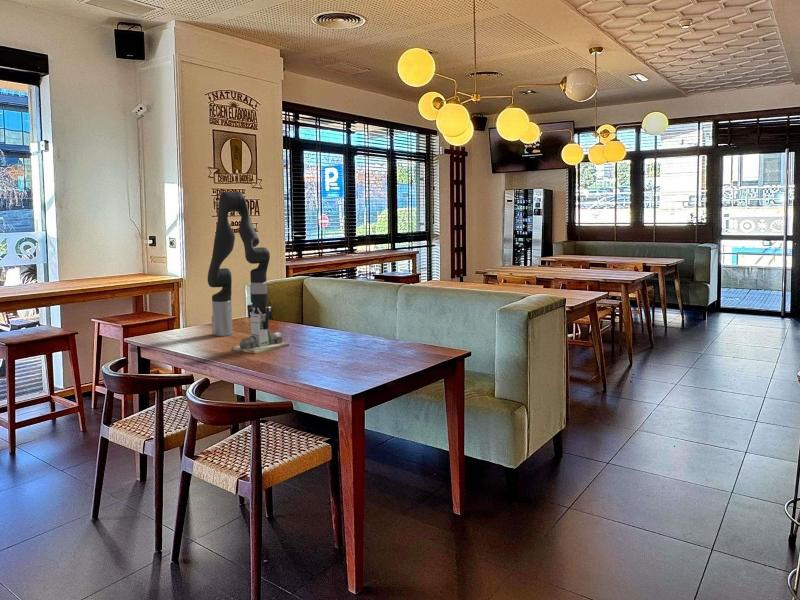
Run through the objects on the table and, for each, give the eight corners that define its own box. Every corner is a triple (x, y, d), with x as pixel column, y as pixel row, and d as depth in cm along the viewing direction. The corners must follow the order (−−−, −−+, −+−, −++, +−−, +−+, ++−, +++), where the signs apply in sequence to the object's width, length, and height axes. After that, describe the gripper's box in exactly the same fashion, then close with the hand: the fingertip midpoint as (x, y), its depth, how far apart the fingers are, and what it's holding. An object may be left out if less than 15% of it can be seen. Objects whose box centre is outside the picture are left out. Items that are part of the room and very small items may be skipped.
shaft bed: (231, 349, 281) (231, 335, 280) (266, 341, 297) (266, 328, 296) (255, 354, 271) (255, 340, 271) (290, 345, 288) (290, 332, 287)
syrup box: (259, 346, 280) (259, 314, 278) (251, 345, 284) (250, 313, 282) (269, 344, 285) (268, 313, 283) (260, 343, 288) (260, 311, 286)
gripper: (241, 291, 282) (243, 328, 284) (263, 294, 273) (264, 331, 276) (254, 290, 288) (255, 325, 290) (276, 292, 279) (277, 328, 282)
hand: (260, 328), depth 283 cm, fingers open, 6 cm apart
